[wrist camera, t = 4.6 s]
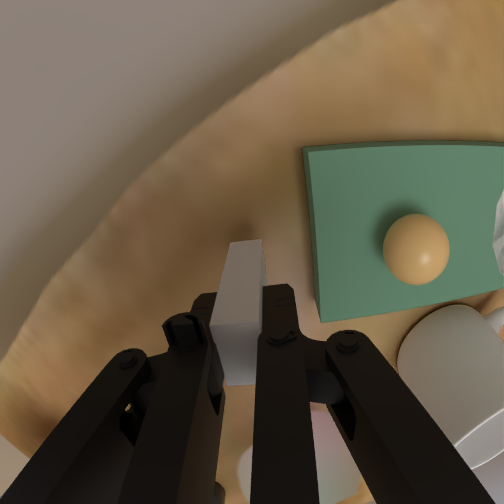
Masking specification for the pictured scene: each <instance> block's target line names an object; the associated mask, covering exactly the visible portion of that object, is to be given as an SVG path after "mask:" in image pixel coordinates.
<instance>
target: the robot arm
mask: <svg viewBox="0 0 504 504" xmlns="http://www.w3.org/2000/svg"><path fill="white" fill-rule="evenodd" d="M191 309H192V310H191V311H190V312H185V313H180V314H177V315H174V316H172V317H170V318H169V319H167V320H166V321H165V322H164V323H163V325H162V328H163V330H164V333H165V336H166V338H167V341H168V344H169V348H168V351H167V352H166V353H163V354H159V355H155V356H151V357H147V356H146V354H145V353H144V351H143V350H140V349H135V348H131V349H127V350H123V351H121V352H120V353H118V354H117V355H115V356H114V357H113V358H112V359H111V360H110V362H109V363H108V364H107V365H106V366H105V368H104V369H103V370H102V371H101V372H100V374H99V375H98V376H97V377H96V378H95V380H94V381H93V382H92V383H91V384H90V386H89V387H88V388H87V389H86V390H85V392H84V393H83V394H82V395H81V396H80V398H79V399H78V400H77V401H76V403H75V404H74V405H73V406H72V407H71V409H70V410H69V411H68V412H67V414H66V415H65V416H64V417H63V419H62V420H61V421H60V422H59V424H58V425H57V426H56V427H55V429H54V430H53V431H52V432H51V434H50V435H49V436H48V437H47V439H46V440H45V441H44V442H43V444H42V445H41V446H40V448H39V449H38V450H37V451H36V453H35V454H34V455H33V457H32V458H31V459H30V460H29V462H28V463H27V464H26V466H25V467H24V468H23V470H22V471H21V472H20V473H19V475H18V476H17V478H16V479H15V480H14V481H13V483H12V484H11V485H10V487H9V488H8V489H7V490H6V491H5V492H4V494H3V495H2V496H1V497H0V504H224V503H225V491H224V489H223V488H222V487H221V486H220V485H219V484H217V483H216V482H215V477H216V469H217V461H218V453H219V445H220V437H221V429H222V421H223V413H224V405H225V392H224V389H223V380H224V378H225V382H226V385H227V386H237V385H253V384H256V388H255V410H254V432H253V454H252V473H251V494H250V504H320V503H319V492H318V480H317V470H316V459H315V449H314V439H313V430H312V421H311V412H310V403H309V402H316V403H323V404H326V406H327V408H328V410H329V412H330V414H331V416H332V418H333V420H334V422H335V424H336V426H337V428H338V430H339V432H340V434H341V436H342V438H343V439H344V441H345V443H346V445H347V447H348V449H349V451H350V453H351V455H352V457H353V459H354V461H355V463H356V465H357V467H358V469H359V471H360V472H361V474H362V476H363V478H364V480H365V482H366V484H367V486H368V488H369V490H370V492H371V494H372V496H373V498H374V500H375V501H376V503H377V504H495V502H494V501H493V500H492V498H491V497H490V495H489V494H488V492H487V491H486V490H485V488H484V487H483V486H482V484H481V483H480V481H479V480H478V479H477V477H476V476H475V474H474V473H473V472H472V470H471V469H470V467H469V466H468V465H467V463H466V462H465V461H464V459H463V458H462V457H461V455H460V454H459V453H458V451H457V450H456V449H455V447H454V446H453V445H452V443H451V442H450V441H449V439H448V438H447V437H446V435H445V434H444V433H443V431H442V430H441V429H440V427H439V426H438V425H437V423H436V422H435V421H434V420H433V418H432V417H431V416H430V414H429V413H428V412H427V410H426V409H425V408H424V407H423V405H422V404H421V403H420V401H419V400H418V399H417V398H416V396H415V395H414V394H413V393H412V391H411V390H410V389H409V387H408V386H407V385H406V384H405V382H404V381H403V380H402V379H401V377H400V376H399V375H398V374H397V372H396V371H395V370H394V369H393V367H392V366H391V365H390V364H389V362H388V361H387V360H386V359H385V357H384V356H383V355H382V354H381V353H380V351H379V350H378V349H377V348H376V346H375V345H374V344H373V343H372V342H371V340H370V339H369V338H368V337H367V336H366V335H365V334H363V333H361V332H358V331H356V330H343V331H338V332H336V333H334V334H332V335H331V336H330V337H329V338H328V339H327V341H318V340H313V339H310V338H307V337H306V336H304V335H303V334H302V333H301V331H300V329H299V323H298V316H297V309H296V303H295V296H294V289H293V288H292V287H290V286H289V285H288V284H279V285H270V286H268V282H267V275H266V268H265V261H264V254H263V247H262V241H261V239H255V240H247V241H239V242H231V243H230V245H229V249H228V253H227V257H226V261H225V265H224V269H223V273H222V277H221V281H220V285H219V289H218V292H213V293H203V294H201V295H200V296H199V297H198V298H197V299H196V300H195V301H194V303H193V305H192V308H191ZM129 403H130V405H131V407H130V409H129V410H127V411H125V409H126V407H127V406H128V404H129Z"/></svg>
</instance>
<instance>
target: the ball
mask: <svg viewBox="0 0 504 504" xmlns="http://www.w3.org/2000/svg"><path fill="white" fill-rule="evenodd" d="M449 253H450V246H449V240H448V237H447V234H446V232H445V230H444V229H443V228H442V226H441V225H440V224H439V223H438V222H437V221H436V220H434V219H433V218H431V217H429V216H426V215H423V214H409V215H406V216H404V217H401V218H400V219H398V220H397V221H395V222H394V223H393V224H392V225H391V227H390V228H389V230H388V231H387V233H386V236H385V239H384V243H383V256H384V260H385V263H386V265H387V267H388V269H389V271H390V272H391V273H392V274H393V275H394V276H395V277H396V278H397V279H398V280H400V281H402V282H404V283H406V284H410V285H423V284H426V283H429V282H431V281H433V280H434V279H436V278H437V277H438V276H439V275H440V274H441V273H442V272H443V270H444V269H445V267H446V265H447V262H448V259H449Z"/></svg>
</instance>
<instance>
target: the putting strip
mask: <svg viewBox="0 0 504 504" xmlns="http://www.w3.org/2000/svg"><path fill="white" fill-rule="evenodd" d="M302 151H303V160H304V168H305V178H306V187H307V197H308V207H309V218H310V229H311V242H312V255H313V269H314V284H315V301H316V305H317V309H318V313H319V317H320V322H321V323H325V322H332V321H339V320H346V319H353V318H359V317H366V316H372V315H378V314H384V313H390V312H395V311H401V310H406V309H412V308H417V307H422V306H427V305H432V304H437V303H442V302H447V301H451V300H456V299H460V298H465V297H469V296H473V295H478V294H482V293H486V292H490V291H494V290H498V289H502V288H504V143H503V142H484V141H450V140H420V141H384V142H363V143H348V144H334V145H322V146H311V147H302ZM409 214H423V215H426V216H429V217H431V218H433V219H434V220H436V221H437V222H438V223H439V224H440V225H441V226H442V228H443V229H444V230H445V232H446V234H447V237H448V240H449V246H450V253H449V259H448V262H447V265H446V267H445V269H444V270H443V272H442V273H441V274H440V275H439V276H438V277H437V278H436V279H434V280H433V281H431V282H429V283H426V284H423V285H410V284H406V283H404V282H402V281H400V280H398V279H397V278H396V277H395V276H394V275H393V274H392V273H391V272H390V271H389V269H388V267H387V265H386V263H385V260H384V256H383V243H384V239H385V236H386V233H387V231H388V230H389V228H390V227H391V225H392V224H393V223H394V222H395V221H397V220H398V219H400V218H401V217H404V216H406V215H409Z"/></svg>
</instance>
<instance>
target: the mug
mask: <svg viewBox="0 0 504 504" xmlns="http://www.w3.org/2000/svg"><path fill="white" fill-rule="evenodd" d="M503 325H504V306H503V307H500V308H498V309H495V310H494V311H492V312H490V313H489V314H488V315H486V316H484V317H483V316H482V315H481V314H480V313H479V312H477V311H476V310H475V309H473V308H471V307H469V306H466V305H450V306H446V307H443V308H441V309H438V310H436V311H434V312H432V313H431V314H429V315H428V316H426V317H425V318H424V319H422V320H421V321H420V322H419V323H418V324H417V325H416V326H415V327H414V328H413V329H412V330H411V331H410V332H409V334H408V335H407V336H406V338H405V339H404V341H403V343H402V345H401V348H400V350H399V354H398V359H397V366H398V372H399V375H400V377H401V379H402V380H403V381H404V382H405V384H406V385H407V386H408V387H409V389H410V390H411V391H412V393H413V394H414V395H415V396H416V398H417V399H418V400H419V401H420V403H421V404H422V405H423V407H424V408H425V409H426V410H427V412H428V413H429V414H430V416H431V417H432V418H433V420H434V421H435V422H436V423H437V425H438V426H439V427H440V429H441V430H442V431H443V433H444V434H445V435H446V437H447V438H448V439H449V441H450V442H451V443H452V445H453V446H454V447H455V449H456V450H457V451H458V453H459V454H460V455H461V457H462V458H463V459H464V461H465V462H466V463H467V465H468V466H469V467H470V469H471V470H472V469H474V468H476V467H478V466H480V465H482V464H484V463H486V462H487V461H489V460H491V459H492V458H494V457H496V456H497V455H498V454H500V453H501V452H503V451H504V342H503V340H502V339H501V338H500V337H499V335H498V334H499V331H500V330H501V328H502V326H503Z"/></svg>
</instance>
